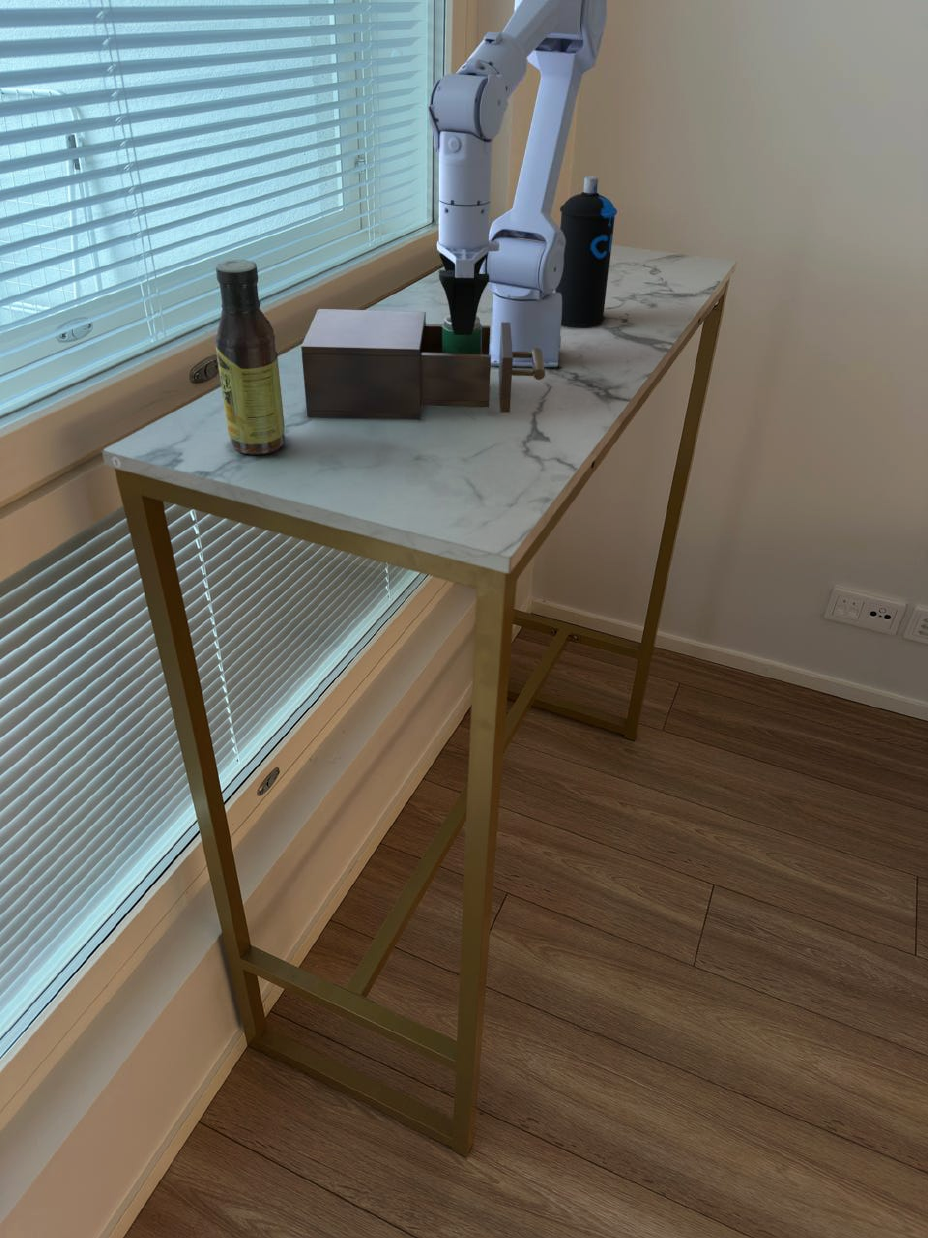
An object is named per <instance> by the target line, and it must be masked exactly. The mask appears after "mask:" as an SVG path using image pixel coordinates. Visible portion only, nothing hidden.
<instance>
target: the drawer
mask: <svg viewBox="0 0 928 1238" xmlns="http://www.w3.org/2000/svg"><path fill="white" fill-rule="evenodd" d="M442 325H443V323H426V324H425V326H424V333H423V339H422V346H421V352H420V377H421V406H422V407H447V408H448V407H449V408H450V407H451V408H481V409H483V408H485V409H486V408H487V409H489V408H490V398H491V397H490V396H491V395H490V394H491V373H492V372H491V371H492V370H491V369H492V365H491V355H489V354H490V342H491V329H492V326H491V325H490V324H489V325H488V324H487V325H485V324H481V325H482V348H481V354H449V353H442ZM513 358H532V366H533V367H532V369H519V368H517V369H515V368H513V367H514V366H513ZM513 377H533V378H534V379H535V380H537V381H542V380H544V378H545V377H546V370H545V367H544V362H543V355H542V351H541V350H540V349H534V350H532V352H512V340H511V327H510V323H501V329H500V352H499V366H498V396H499V397H498V398H499V399H498V400H499V413H501V414H511V401H512V400H511V399H512V383H513V382H512V381H513Z"/></svg>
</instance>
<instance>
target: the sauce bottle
mask: <svg viewBox="0 0 928 1238" xmlns="http://www.w3.org/2000/svg"><path fill="white" fill-rule="evenodd" d="M215 273H216V280H217V282H218V284H219V291H220V296H221V315H220V319H219V324H218V329H217V333H216V337H215V342H214V347H215V352H216V358H217V365H218V367H217V368H218V373H219V380H220V387H221V394H222V400H223V408H224V415H225V421H226V422H225V423H226V428H227V434H228V436H229V439H230V443H231V445H232V447H233V448H234V449H235V450H236V451H237V452H238V453H240V454H246V455H252V456H253V455H266V454H271V453H274V452H277V451H278V450H279V449H280V448H281V447H282V446H283V445H284V443H285V441H286V436H285V428H286V427H285V417H284V406H283V404H284V403H283V397H282V396H283V395H282V386H281V377H280V367H279V358H278V353H277V351H276V341H275V340H276V336H275V333H274V328H273V326H272V324H271V322H270V321H269V320H268V318H267V317H266V316H265V315H264V313H263V311H262V310H261V309H260V308H261V301H260V298H259V287H258V283H259V271H258V266H257V263H256V262H255V261H251V260H248V259H228V260H224V261H222V262H220V263H217V264H216V265H215Z"/></svg>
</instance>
